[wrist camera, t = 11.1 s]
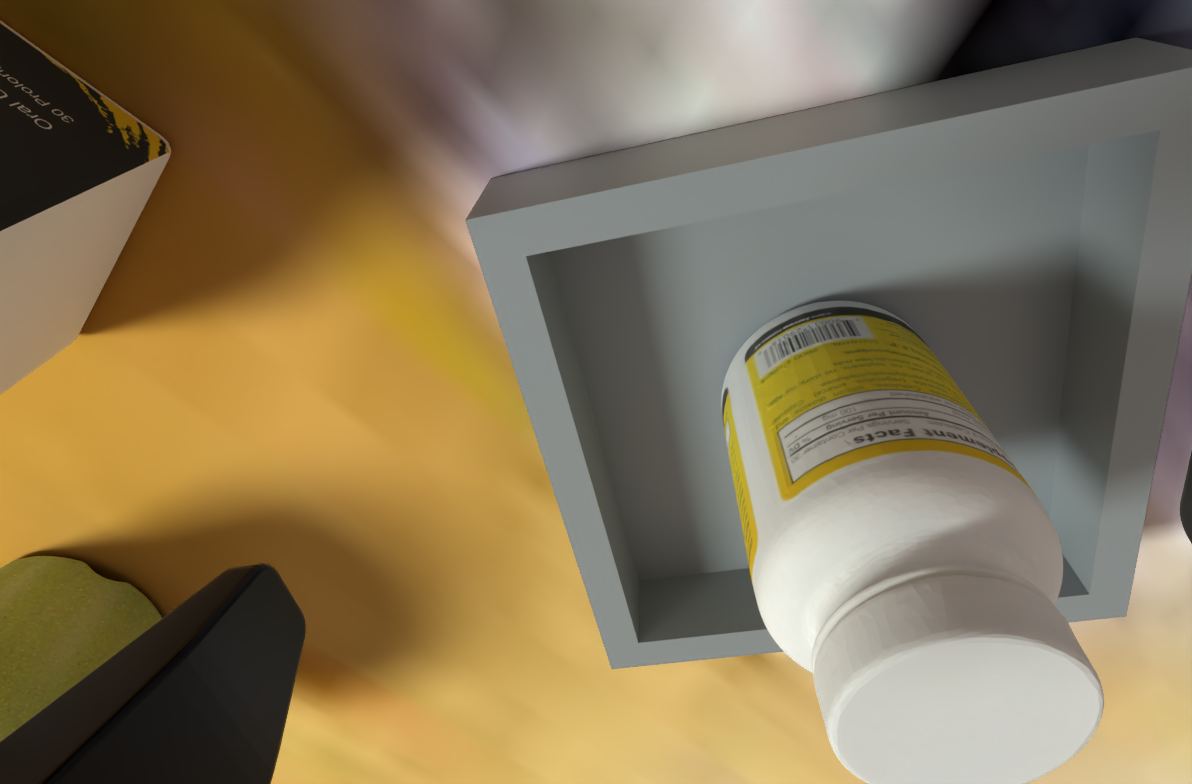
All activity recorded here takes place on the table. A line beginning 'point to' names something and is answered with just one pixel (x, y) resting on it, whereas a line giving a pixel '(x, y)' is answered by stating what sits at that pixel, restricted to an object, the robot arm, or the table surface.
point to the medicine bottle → (61, 200)
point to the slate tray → (861, 274)
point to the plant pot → (59, 630)
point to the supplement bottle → (901, 555)
